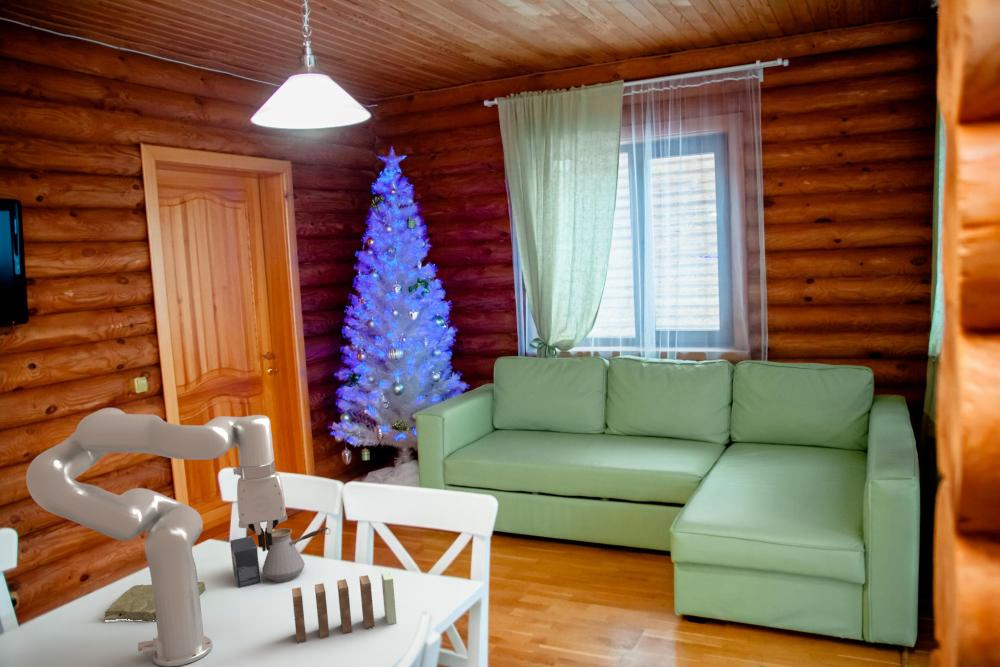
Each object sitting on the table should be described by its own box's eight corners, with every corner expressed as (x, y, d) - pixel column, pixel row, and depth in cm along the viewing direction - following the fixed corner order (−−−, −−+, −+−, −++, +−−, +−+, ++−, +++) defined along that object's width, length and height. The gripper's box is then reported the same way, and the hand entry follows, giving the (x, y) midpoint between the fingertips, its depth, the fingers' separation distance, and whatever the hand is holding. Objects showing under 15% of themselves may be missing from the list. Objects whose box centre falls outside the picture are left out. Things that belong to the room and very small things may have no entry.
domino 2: (320, 638, 185) (316, 592, 183) (318, 629, 189) (314, 584, 188) (329, 636, 185) (325, 591, 184) (327, 627, 190) (323, 583, 189)
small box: (232, 575, 226) (228, 539, 225) (256, 570, 229) (252, 535, 228) (237, 588, 217) (233, 551, 216) (261, 583, 220) (258, 546, 218)
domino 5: (388, 624, 189) (384, 580, 188) (384, 616, 194) (381, 572, 193) (396, 623, 190) (392, 578, 189) (393, 614, 195) (389, 571, 193)
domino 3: (343, 633, 186) (339, 588, 185) (341, 624, 191) (337, 580, 190) (352, 632, 187) (348, 587, 186) (349, 623, 191) (345, 579, 190)
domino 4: (366, 629, 188) (362, 584, 187) (363, 620, 192) (359, 576, 191) (374, 627, 188) (370, 582, 187) (371, 618, 193) (367, 575, 192)
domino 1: (297, 643, 183) (293, 597, 182) (296, 633, 188) (291, 588, 187) (306, 641, 184) (302, 595, 182) (304, 632, 188) (300, 587, 187)
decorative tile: (133, 595, 218) (131, 583, 218) (206, 590, 218) (205, 578, 217) (99, 627, 199) (97, 613, 199) (179, 622, 199) (177, 608, 199)
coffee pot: (254, 583, 219) (249, 530, 218) (278, 567, 230) (273, 516, 229) (322, 589, 213) (317, 534, 211) (344, 572, 223) (339, 520, 222)
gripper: (222, 479, 174) (231, 560, 176) (292, 469, 178) (300, 548, 180) (223, 471, 181) (231, 549, 183) (291, 461, 186) (298, 538, 187)
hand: (266, 548), depth 182 cm, fingers closed
